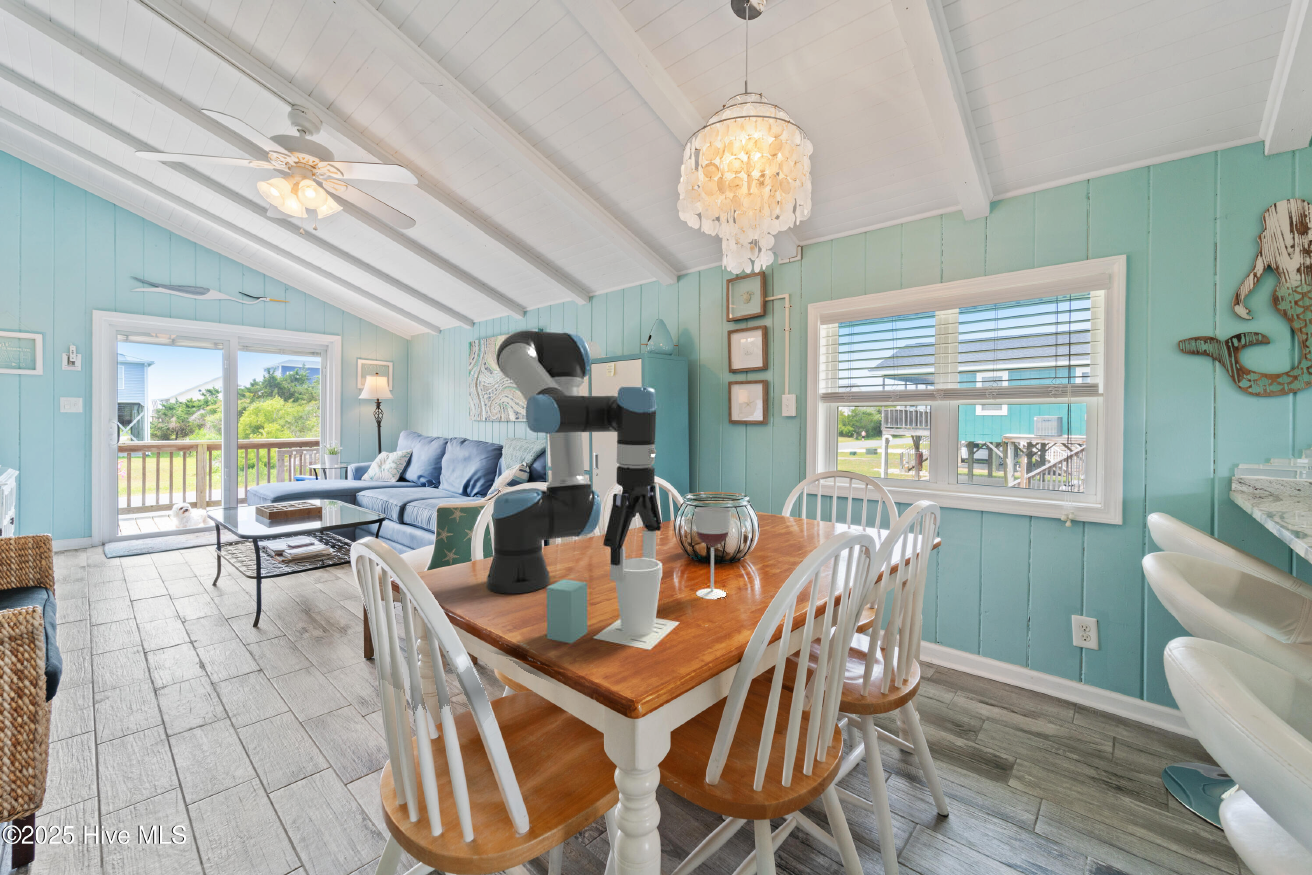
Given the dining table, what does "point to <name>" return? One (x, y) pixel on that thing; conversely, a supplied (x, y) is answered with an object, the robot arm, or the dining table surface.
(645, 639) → the letter
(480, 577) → the dining table surface
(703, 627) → the dining table surface
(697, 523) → the wineglass
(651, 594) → the foam cup
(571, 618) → the block
